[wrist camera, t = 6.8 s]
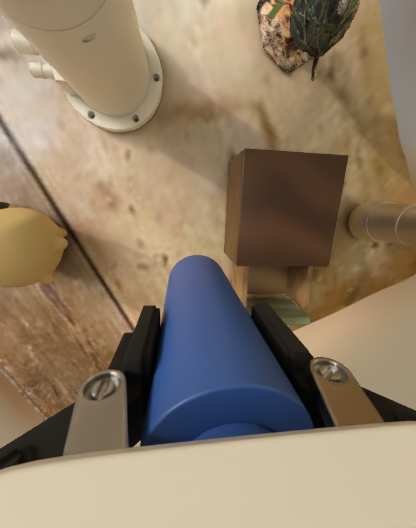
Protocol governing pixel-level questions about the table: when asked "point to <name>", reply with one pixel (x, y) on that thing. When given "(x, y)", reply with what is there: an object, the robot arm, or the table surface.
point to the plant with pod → (303, 28)
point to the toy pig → (28, 246)
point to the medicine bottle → (214, 366)
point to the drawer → (275, 289)
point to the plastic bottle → (384, 222)
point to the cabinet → (282, 207)
